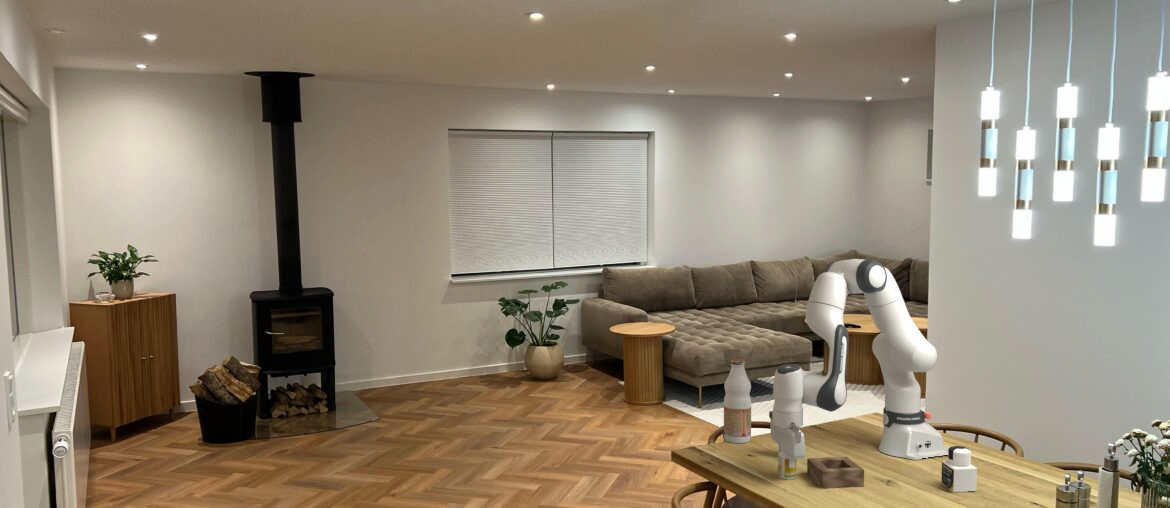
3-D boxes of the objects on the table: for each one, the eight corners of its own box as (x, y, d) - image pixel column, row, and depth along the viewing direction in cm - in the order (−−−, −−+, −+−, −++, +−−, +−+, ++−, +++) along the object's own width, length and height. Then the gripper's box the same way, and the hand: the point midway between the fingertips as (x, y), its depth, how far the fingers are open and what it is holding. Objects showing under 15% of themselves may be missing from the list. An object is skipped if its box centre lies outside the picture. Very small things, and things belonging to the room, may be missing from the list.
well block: (846, 472, 267) (846, 456, 267) (863, 486, 255) (864, 469, 254) (807, 474, 265) (807, 458, 265) (822, 488, 253) (823, 471, 253)
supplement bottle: (799, 476, 264) (800, 445, 263) (790, 481, 260) (791, 449, 259) (783, 472, 267) (784, 441, 266) (774, 477, 263) (775, 445, 262)
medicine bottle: (940, 484, 256) (942, 444, 255) (964, 483, 257) (965, 443, 256) (952, 492, 249) (953, 451, 248) (976, 491, 250) (978, 451, 249)
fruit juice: (729, 444, 296) (729, 363, 294) (719, 437, 305) (720, 358, 303) (755, 443, 298) (756, 362, 296) (744, 435, 307) (745, 357, 305)
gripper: (810, 427, 252) (810, 474, 253) (786, 409, 272) (785, 452, 273) (789, 428, 251) (789, 475, 253) (767, 410, 272) (766, 453, 273)
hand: (787, 463), depth 263 cm, fingers closed on supplement bottle, 5 cm apart
